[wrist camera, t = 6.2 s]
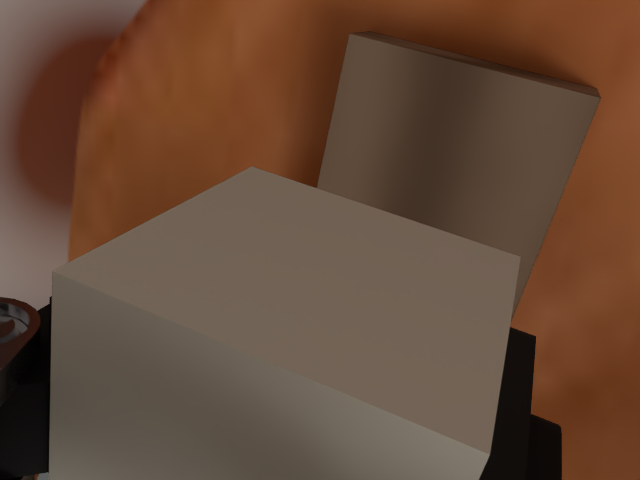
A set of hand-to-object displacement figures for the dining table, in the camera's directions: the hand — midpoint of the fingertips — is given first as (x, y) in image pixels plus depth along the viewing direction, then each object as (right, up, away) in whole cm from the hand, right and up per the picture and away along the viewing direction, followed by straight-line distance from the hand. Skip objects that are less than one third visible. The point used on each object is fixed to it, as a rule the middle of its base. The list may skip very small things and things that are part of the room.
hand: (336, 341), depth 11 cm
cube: (0, 0, 0) cm, 1 cm away
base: (+5, +5, +14) cm, 16 cm away
